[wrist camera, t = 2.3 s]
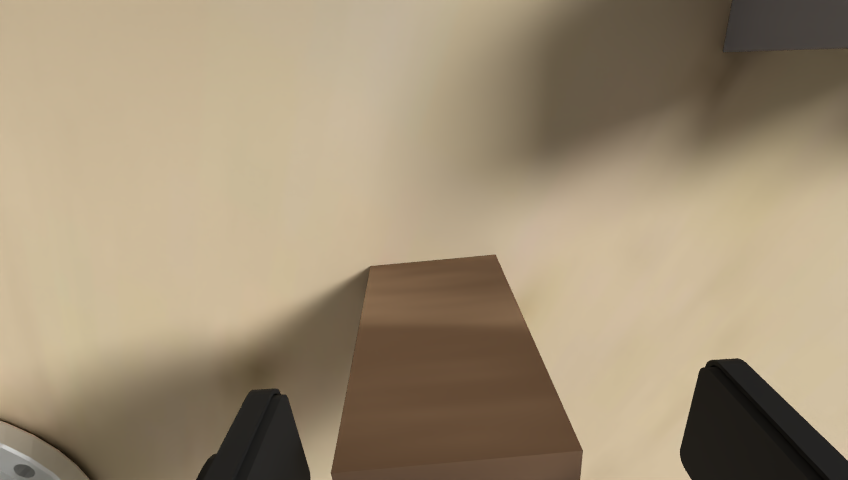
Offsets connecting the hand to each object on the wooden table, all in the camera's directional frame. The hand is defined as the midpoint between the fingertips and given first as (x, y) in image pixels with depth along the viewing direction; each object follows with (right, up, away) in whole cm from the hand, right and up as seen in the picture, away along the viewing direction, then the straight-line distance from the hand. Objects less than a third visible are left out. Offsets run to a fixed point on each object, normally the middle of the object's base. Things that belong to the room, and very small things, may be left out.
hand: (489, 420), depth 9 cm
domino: (-1, +3, +7) cm, 8 cm away
